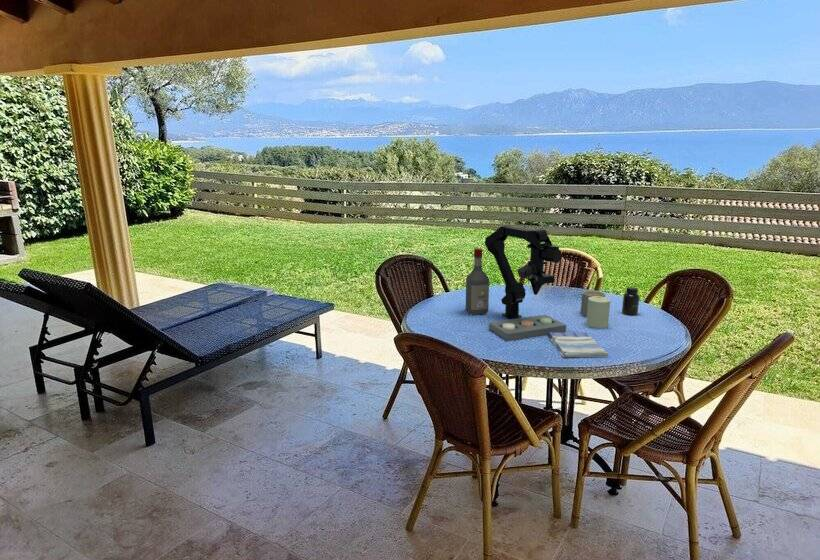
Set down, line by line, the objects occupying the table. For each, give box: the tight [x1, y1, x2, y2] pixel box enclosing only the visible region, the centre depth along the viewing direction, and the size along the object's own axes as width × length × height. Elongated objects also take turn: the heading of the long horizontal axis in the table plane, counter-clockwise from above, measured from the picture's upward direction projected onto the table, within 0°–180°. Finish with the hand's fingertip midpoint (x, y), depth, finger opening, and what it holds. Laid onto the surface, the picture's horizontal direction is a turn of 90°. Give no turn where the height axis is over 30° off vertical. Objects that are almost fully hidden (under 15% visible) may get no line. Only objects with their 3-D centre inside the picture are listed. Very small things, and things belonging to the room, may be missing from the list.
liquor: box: [465, 248, 490, 316], centre depth 243 cm, size 9×9×30 cm
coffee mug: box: [580, 289, 606, 318], centre depth 242 cm, size 13×10×10 cm
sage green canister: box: [585, 296, 612, 329], centre depth 227 cm, size 9×9×12 cm
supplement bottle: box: [621, 286, 640, 316], centre depth 241 cm, size 7×7×12 cm
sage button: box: [540, 318, 552, 324], centre depth 224 cm, size 5×5×3 cm
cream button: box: [502, 323, 515, 330], centre depth 218 cm, size 5×5×3 cm
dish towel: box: [547, 331, 610, 359], centre depth 204 cm, size 17×24×3 cm
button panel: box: [488, 314, 567, 342], centre depth 221 cm, size 15×28×3 cm, turn 110°
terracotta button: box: [521, 320, 534, 327], centre depth 221 cm, size 5×5×3 cm
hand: (535, 294), depth 228 cm, fingers closed
